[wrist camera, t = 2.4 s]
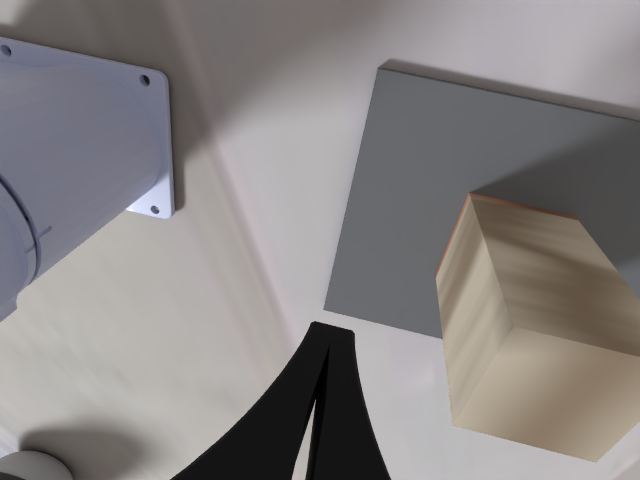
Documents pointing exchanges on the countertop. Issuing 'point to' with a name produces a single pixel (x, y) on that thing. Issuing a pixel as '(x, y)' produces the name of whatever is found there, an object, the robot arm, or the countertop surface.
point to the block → (537, 331)
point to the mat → (472, 187)
